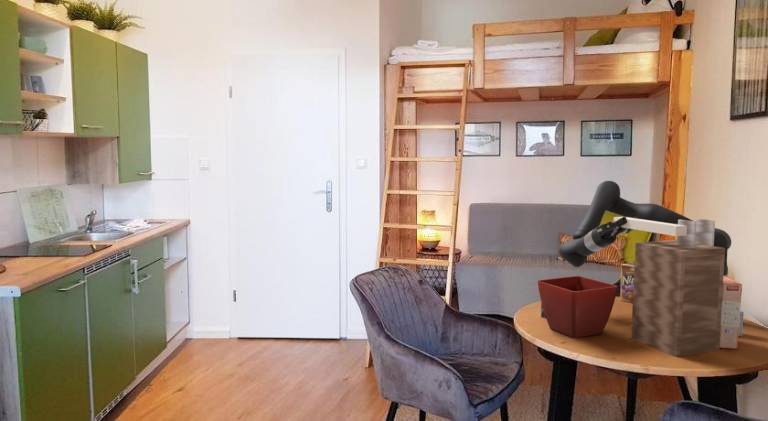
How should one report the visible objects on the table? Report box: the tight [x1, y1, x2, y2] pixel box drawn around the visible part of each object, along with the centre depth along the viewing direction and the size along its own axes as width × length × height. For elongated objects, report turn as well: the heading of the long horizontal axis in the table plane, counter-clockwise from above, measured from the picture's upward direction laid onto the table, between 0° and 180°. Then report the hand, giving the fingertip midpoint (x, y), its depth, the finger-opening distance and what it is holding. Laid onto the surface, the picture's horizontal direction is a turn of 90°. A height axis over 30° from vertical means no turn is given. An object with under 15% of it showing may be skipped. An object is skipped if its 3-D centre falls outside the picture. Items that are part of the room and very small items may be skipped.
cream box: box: [613, 216, 687, 237], centre depth 188 cm, size 26×4×3 cm, turn 21°
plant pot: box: [537, 275, 618, 338], centre depth 198 cm, size 19×19×17 cm
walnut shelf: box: [630, 218, 725, 357], centre depth 184 cm, size 18×18×40 cm
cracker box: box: [719, 276, 743, 350], centre depth 187 cm, size 14×6×21 cm, turn 170°
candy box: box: [619, 263, 635, 304], centre depth 238 cm, size 9×4×15 cm, turn 35°
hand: (631, 219), depth 195 cm, fingers closed on cream box, 4 cm apart
